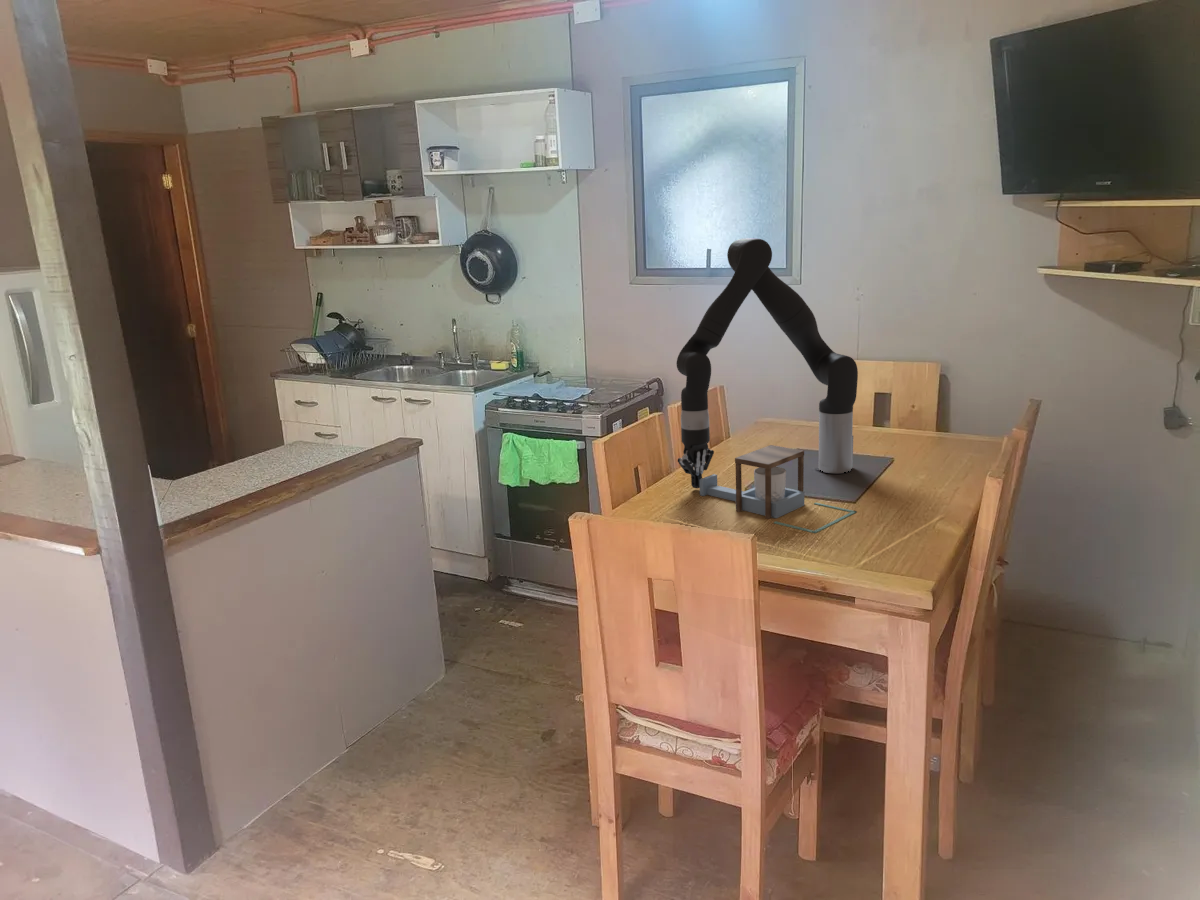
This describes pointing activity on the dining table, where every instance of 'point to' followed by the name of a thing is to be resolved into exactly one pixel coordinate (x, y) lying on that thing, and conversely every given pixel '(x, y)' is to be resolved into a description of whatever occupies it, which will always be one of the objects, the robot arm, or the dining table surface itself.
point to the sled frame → (753, 498)
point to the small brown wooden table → (768, 469)
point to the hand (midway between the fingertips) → (696, 487)
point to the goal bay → (824, 525)
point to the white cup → (776, 483)
